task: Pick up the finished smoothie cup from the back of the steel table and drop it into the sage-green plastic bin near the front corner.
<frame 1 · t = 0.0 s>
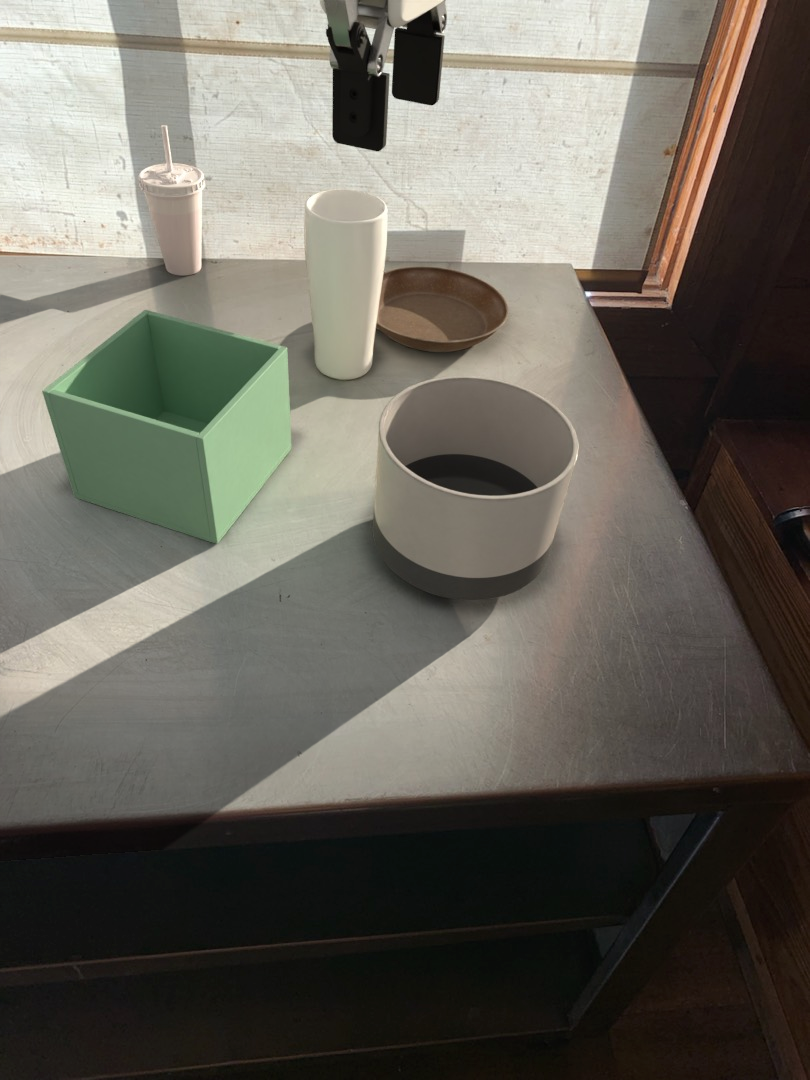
hand: (388, 121, 50), 24 cm above the table, tool pointing down, fingers open, 9 cm apart
planter: (458, 547, 58), on the table
saucer: (431, 326, 80), on the table
smoothie: (184, 269, 85), on the table
drinking glass: (343, 368, 74), on the table
bin: (188, 472, 62), on the table
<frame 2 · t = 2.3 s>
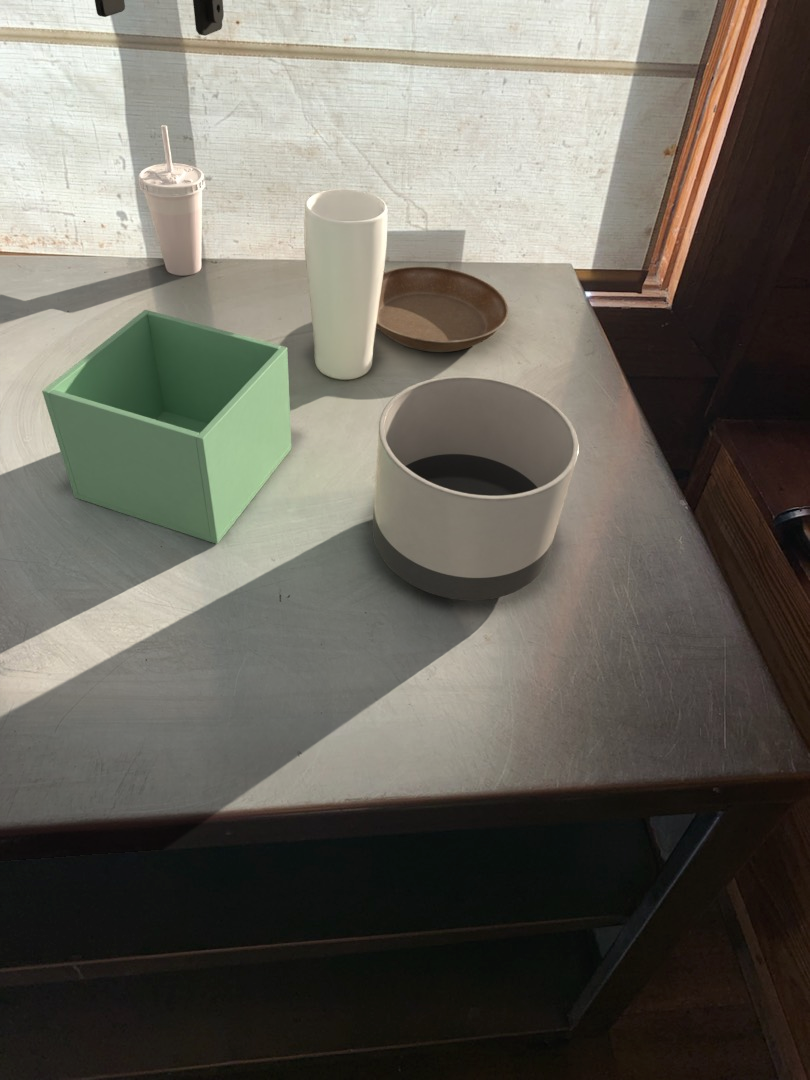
hand: (160, 22, 68), 23 cm above the table, tool pointing down, fingers open, 9 cm apart
nothing on the table moved.
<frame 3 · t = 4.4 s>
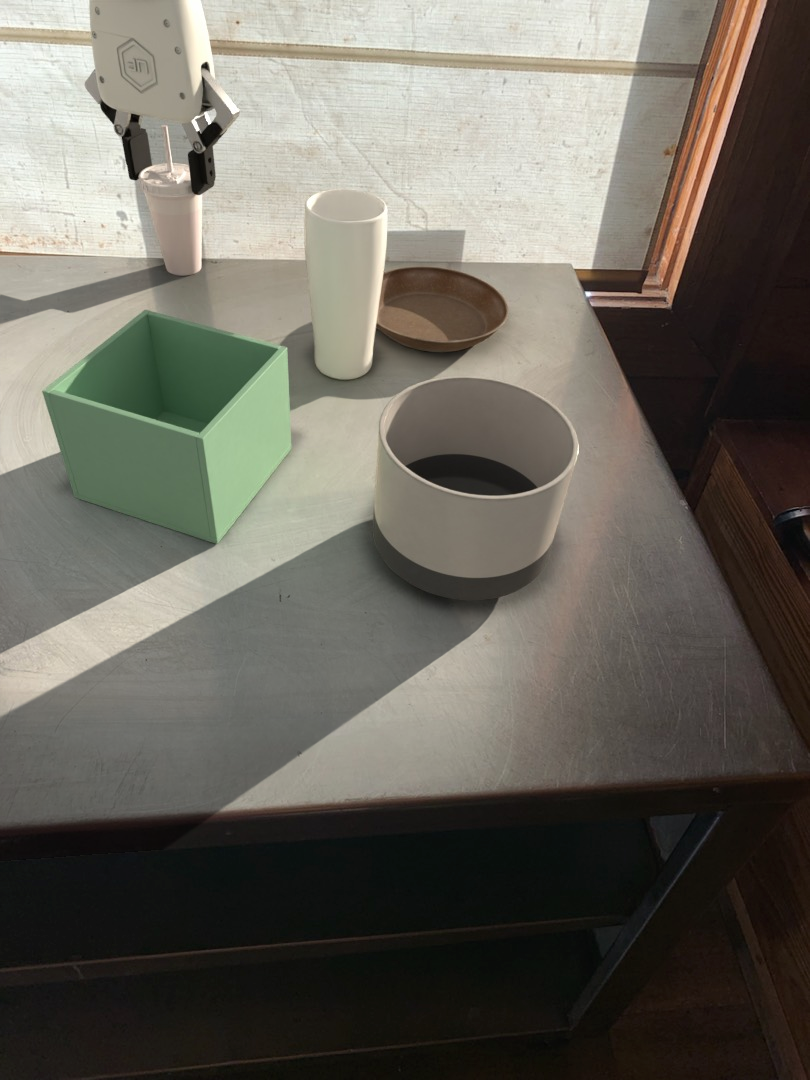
hand: (172, 181, 78), 9 cm above the table, tool pointing down, fingers closed on smoothie, 6 cm apart
smoothie: (184, 269, 85), on the table, touching gripper
everything else where it was.
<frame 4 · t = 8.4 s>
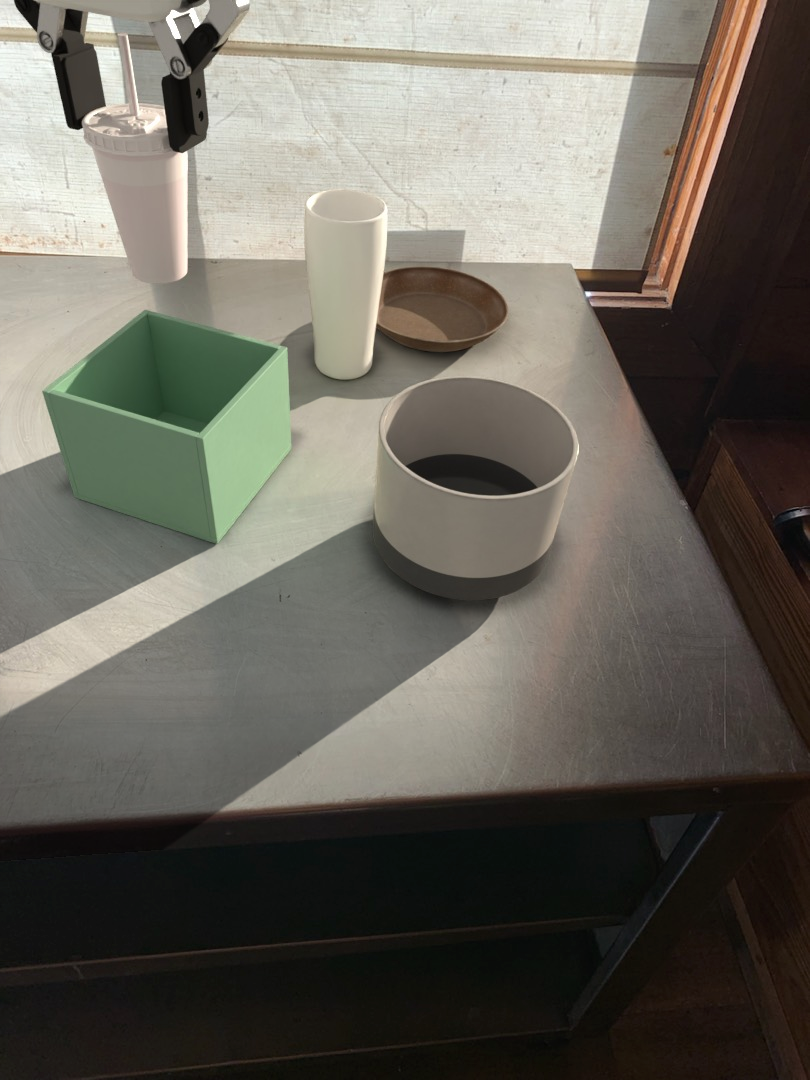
hand: (137, 131, 48), 23 cm above the table, tool pointing down, fingers closed on smoothie, 6 cm apart
smoothie: (160, 273, 55), point 14 cm above the table, touching gripper
everything else where it was.
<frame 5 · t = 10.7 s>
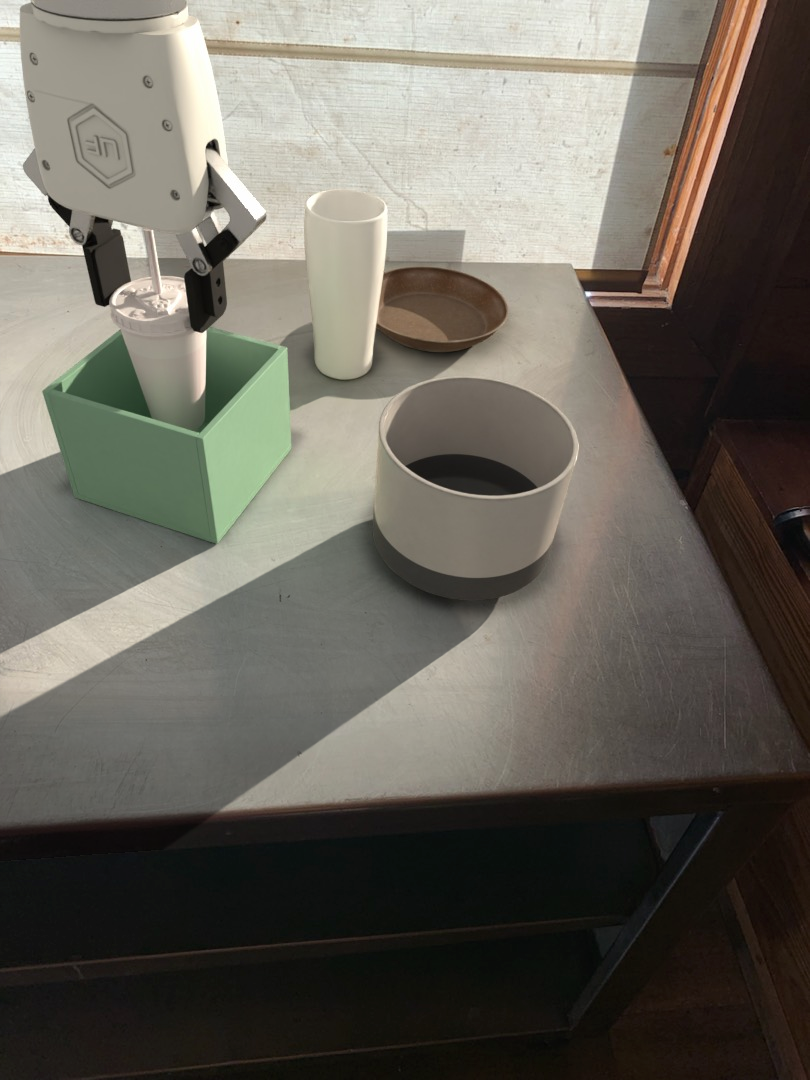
hand: (160, 307, 52), 14 cm above the table, tool pointing down, fingers closed on smoothie, 6 cm apart
smoothie: (179, 421, 58), point 5 cm above the table, touching gripper
everything else where it was.
when the fingers open (10 cm above the table, at t = 12.4 s): smoothie stays where it is, resting on bin.
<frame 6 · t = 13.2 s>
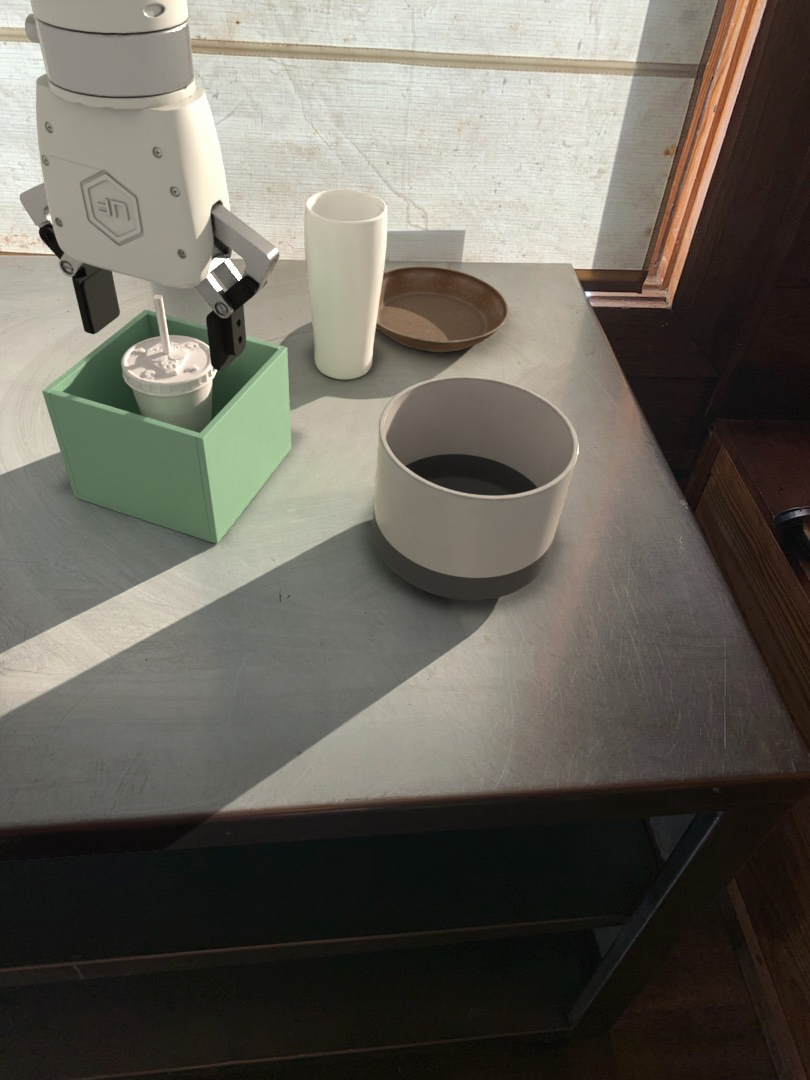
hand: (164, 341, 54), 11 cm above the table, tool pointing down, fingers open, 9 cm apart
smoothie: (186, 468, 61), resting on bin
everything else where it was.
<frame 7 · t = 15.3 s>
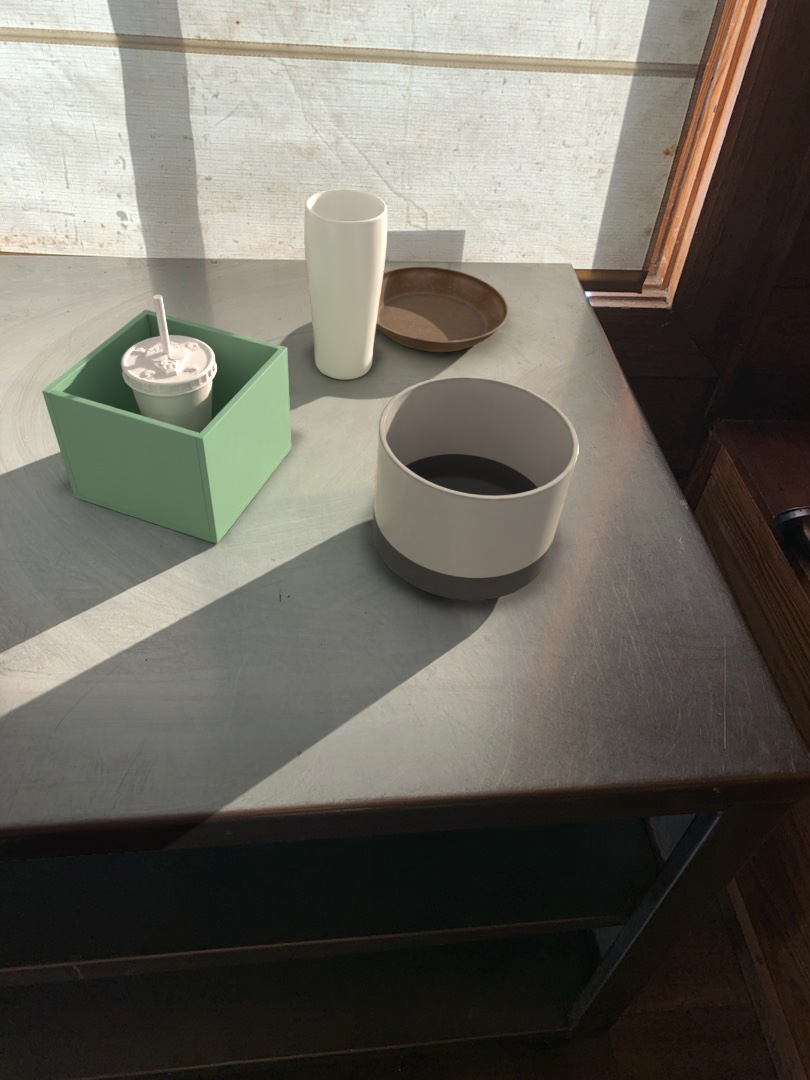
nothing on the table moved.
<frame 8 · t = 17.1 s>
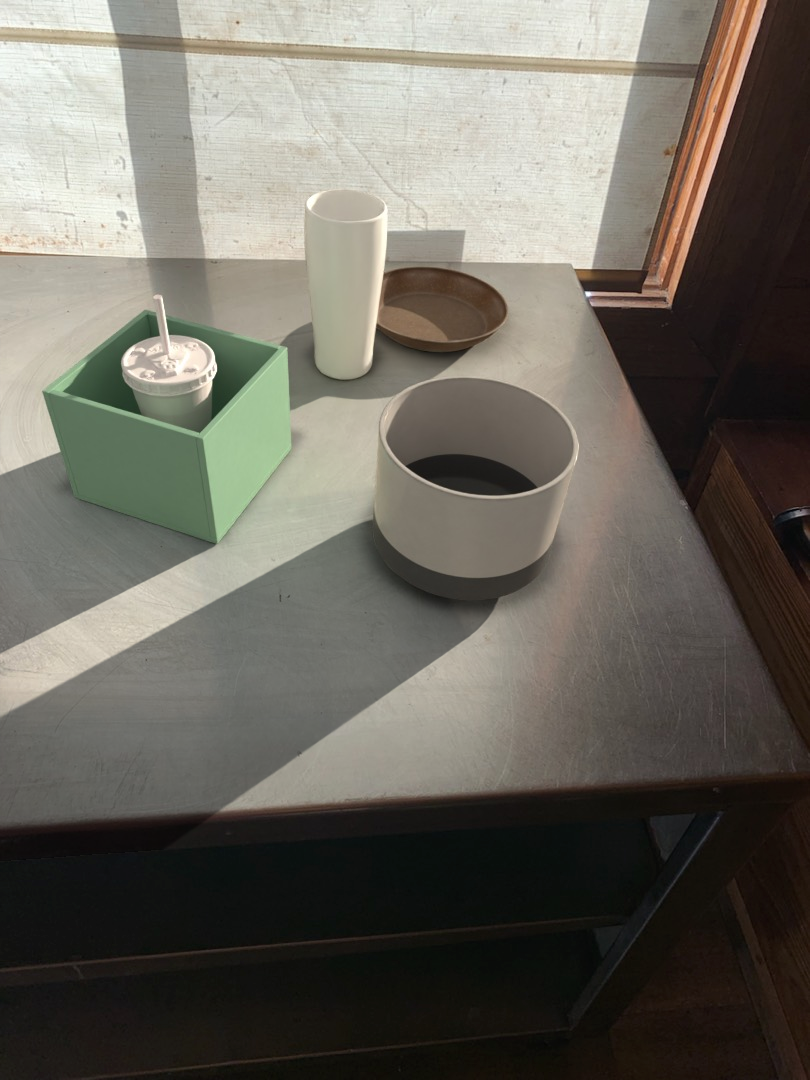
nothing on the table moved.
at the end: smoothie inside the target area in the bin (0.1 cm from its centre), point 0.3 cm above the bin's base; the gripper is holding nothing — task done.
